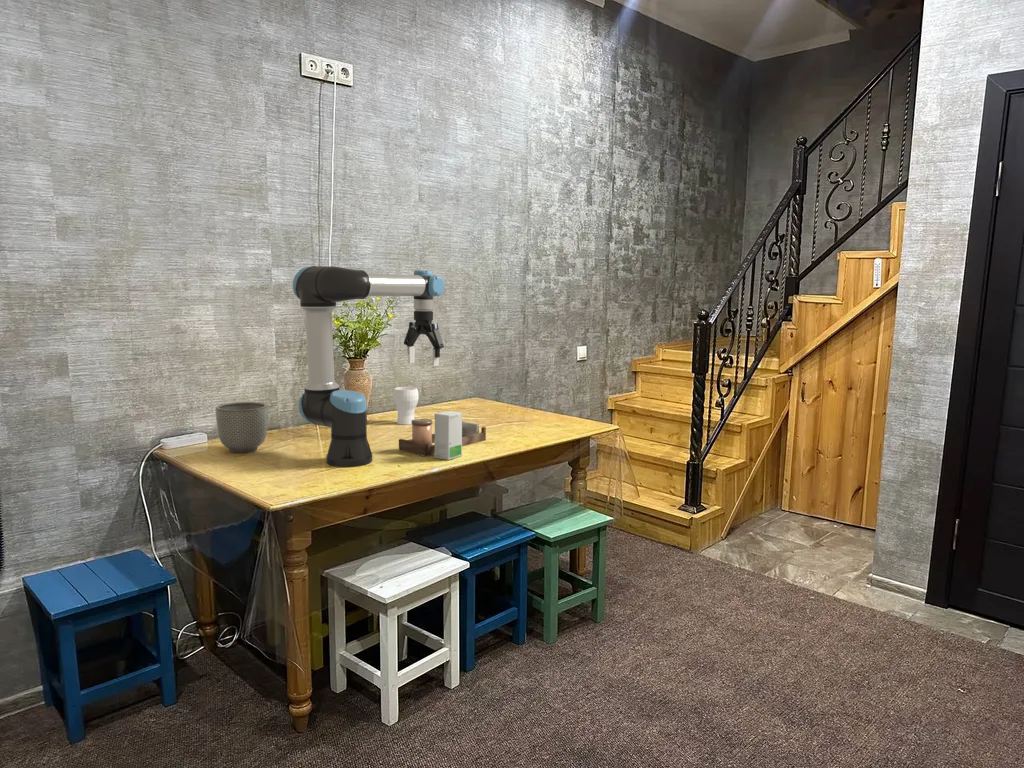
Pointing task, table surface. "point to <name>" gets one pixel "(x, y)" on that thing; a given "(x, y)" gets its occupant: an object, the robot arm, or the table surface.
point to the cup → (405, 404)
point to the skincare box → (448, 435)
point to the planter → (242, 425)
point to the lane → (430, 450)
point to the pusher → (469, 429)
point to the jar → (422, 431)
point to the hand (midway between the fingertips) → (423, 364)
